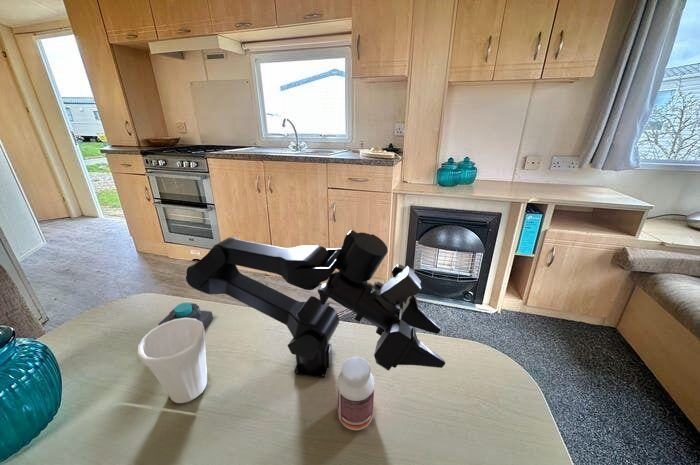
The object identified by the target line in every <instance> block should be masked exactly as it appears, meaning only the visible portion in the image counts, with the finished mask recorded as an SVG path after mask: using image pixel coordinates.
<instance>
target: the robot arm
mask: <svg viewBox="0 0 700 465" xmlns="http://www.w3.org/2000/svg"><path fill="white" fill-rule="evenodd" d="M388 250H389V249H388V246H387V244H386V243H385V241H383V240H382V239H381V238H380V237H379V236H377V235H375V234H373V233H372V234H370V233H367V232H357V231H355V230H353V229H351V230H350V231H348V233H346V234H345V237H344V239H343V242H342V246H341V247H334V248H326V247H324V246H322V245H298V246H294V247H280V246H277V245H276V246H275V245H271V244H264V243H260V242H259V243H258V242H255V241H248V240H243V239H239V238H238V237H235V236H231V237H227V238H225V239H223V240H221V241H220V242H218V243H216V244H214V245H213V246H212V248H211V249H210V250H209V251H208V252H207V254H205V255H204V256H203V257H202V258H201V259H199V260H198V261H196V262H194V263H193V264H191V265H189V266H188V267H187V269H186V276H185V280H186V283H187V284H188V286H190V288H192V289H194V290H196V291H198V292H201V293H204V294H207V295H227V296H229V297H231V298H233V299H235V300H237V301H239V302H241V303H242V304H244V305H246V306H249V307H250V308H253V309H254V310H256V311H258V312H260V313H261V314H264V315H265V316H268V317H270V318H272V319H274V320H276V321H277V322H280V323H281V324H283V325H285V326H286V328H288V330H289V332H290V334H291V336H292V338H291V340H290V341H289V343H288V344H287V347H288V350H289V351H290V354H291V355H294V356H295V361H296V362H295V363H296V365H295V368H294V370H293V373H294V375H295V376H303V377H311V378H319V379H325V378H326V376H327V372H328V369H330V368H331V364H332V360H333V355H332V354H333V351H332V350H333V348H332V344H331V343H330V340H331V338H332V337H333V335H334V333H335V331H336V329H337V328H338V326H339V324H340V317H339V315H338V313H337V310H336V309H335V308H334V307H332V306H330V303H329V302H328V301H329V299H331V300H333V301H334V302H336V303H337V304H339V305H341V306H342V307H344V308H346V309H347V310H348V311H350V312H352V314H355V316H354V320H355V321H356V322H358V323H361V321H362V320H365V321H366V322H368V323H369V324H371V325H373V326H374V327H376V330H375V334H377V335H378V336H380V337H379V338H378V340H377V342H376V344H375V349H374V354H373V356H374V360H375V363H376V364H377V365H378V366H380V367H381V368H383V369H384V370H385V371H390V370H391V369H392V368H394V369H396V368H397V366H417V367H418V366H419V367H429V368H440V369H443V368H444V366H445V365H446V361H445V359H443V357H441V356H439V354H437V353H436V352H435V351H433V350H432V349H431V348H430V347H428V346H427V345H425V344H424V343H423V342H422V341H420V340H419V339H418V334H417V332H416V329H417V330H418V329H419V330H421V331H425V332H428V333H432V334H436V335H439V334H440V332H441V327H440V326H439V325H438V324H437V323H435V322H436V321H434V320H433V319H432V318H431V317H430V316H429V315H428V314H427V312H425V311H424V309H423V308H421V306H420V305H419V303H418V299H417V294H419V293H420V291H421V290H422V285H421V283H422V281H421V279H420V278H419V277H418V276H417V274H416V273H415V269H413V268H412V267H411V268H410V266H408V265H407V266H404V265H403V264H400V263H397V264H396V265H395V266H393V268H391V275H392V277H390V278H389V279H388V281H387V282H386V283H382V282H380V281H374V283H373V284H372V282H369V281H370V280H371V279H372V278H373V276H374V275H375V273H376V272H377V270H378V269H379V267H380V265H381V264H382V263H383V260H384V258H385V257H386V256H387V254H388ZM238 266H239V267H243V268H247V269H253V270H257V271H261V272H266V273H269V274H270V273H271V274H274V275H279V277H282V279H283V280H284V281H285V282H286V283H288V284H289V285H292V286H293V287H296V288H299V289H302V290H305V291H313V290H315V289H316V288H318V287H319V288H318V289H317V293H318V296H319V298H317V297H316V296H312V295H310V296H309V297H308V299H306V301H305V300H304V301H303V300H302V301H299V300H296V299H294V298H292V297H290V296H288V295H286V294H284V293H283V292H280V291H279V290H277V289H274V288H273V287H271V286H269V285H267V284H264V283H263V282H260V281H258V280H256V279H254V278H252V277H250V276H248V275H246V274H244V273H242V272H241V271H240V270H239V269H238ZM336 270H338V271H336ZM323 282H326V283H323ZM320 285H321V286H320Z"/></svg>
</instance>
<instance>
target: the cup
mask: <svg viewBox="0 0 700 465" xmlns="http://www.w3.org/2000/svg"><path fill="white" fill-rule="evenodd" d="M205 339H206V330H205V328H204V326H203V324H202V322H200V321H199V320H197V319H194V318H180V319H174V320H171V321H168V322H166V323H163V324H161V325H157V326H156V327H154V328H152V329H151V330H150V331H148V333H146V334H145V335H144V336H143V337H142V338H141V340H140V342H139V343H138V345H137V347H136V350H137V356H138V358H139V360H140V361H141V362H142V364H144V365H145V366H146V367H147V368H149V369H150V371H151V372H152V373H153V375H154V376H155V377H156V379H157V381H158V382H159V384H160V385H161V386H162V388H163V389H164V390H165V392H166V393H167V394H168V396H169V398H170V400H171V401H172V402H173V403H176V404H184V403H189V402H191V401H193V400H194V399H196V398H198V396H200V395H201V394H202V393H203V392H204V390H205V389H206V388H207V384H208V372H207V371H208V370H207V355H206V354H207V353H206V341H205Z"/></svg>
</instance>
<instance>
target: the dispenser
mask: <svg viewBox="0 0 700 465" xmlns="http://www.w3.org/2000/svg"><path fill="white" fill-rule="evenodd" d="M189 303H190V304H191V306H192V310H193V311H192V313H191V314H189V315H187V316H186V317H181V318H194V319H197V320H199V321H200V322H202V324H203V326H204V329H206V328H207V326H208V325H209V324H210V323H211V322H212V321H213V319H214V315H213V312H212V311H210V310H201V307H200V305H198V304H197V303H192V302H189ZM174 319H180V318H178V317H176V315H175V311H174V308H173V309H171V311H170V312H169V313H168V315H166V316H165V317H164V318H163V319H162V320H161V321H160V322H159V323H157V324H158V325H157V326H159V325H161V324H163V323H166V322H168V321H171V320H174Z"/></svg>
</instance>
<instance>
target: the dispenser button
mask: <svg viewBox="0 0 700 465" xmlns="http://www.w3.org/2000/svg"><path fill="white" fill-rule="evenodd" d="M190 303H191V302H182V303H179V304H177V305H176V306H175V307H174V308H173V309H174V311H175V315H176V317H178V318H181V317H186V316H187V315H189V314H191V313H192V311H193V310H192V306H191V304H190Z"/></svg>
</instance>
